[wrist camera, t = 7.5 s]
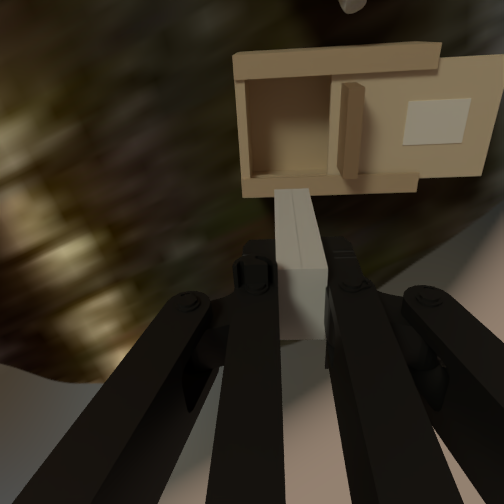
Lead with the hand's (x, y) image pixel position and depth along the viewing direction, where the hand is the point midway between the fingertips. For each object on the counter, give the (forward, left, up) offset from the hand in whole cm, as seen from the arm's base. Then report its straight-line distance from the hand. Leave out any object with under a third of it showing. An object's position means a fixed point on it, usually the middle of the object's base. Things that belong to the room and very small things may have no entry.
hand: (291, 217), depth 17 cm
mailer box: (+4, 0, -24) cm, 24 cm away
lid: (+11, 0, -19) cm, 22 cm away
